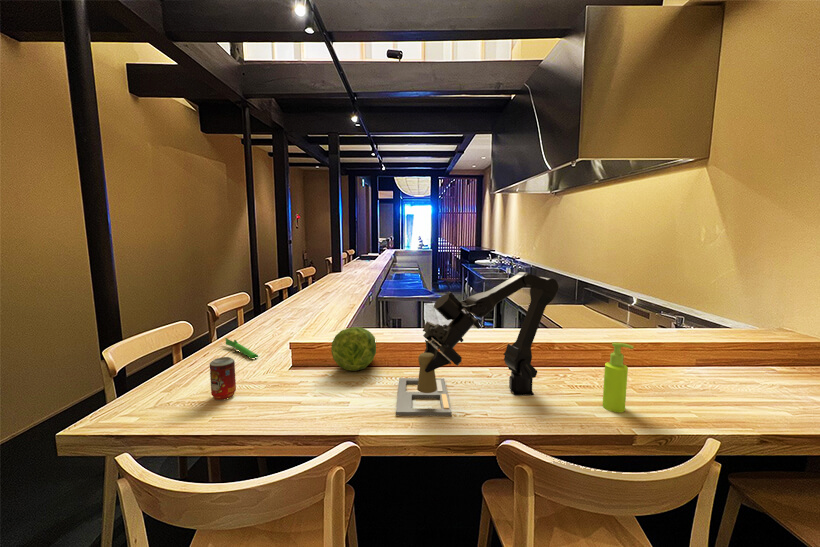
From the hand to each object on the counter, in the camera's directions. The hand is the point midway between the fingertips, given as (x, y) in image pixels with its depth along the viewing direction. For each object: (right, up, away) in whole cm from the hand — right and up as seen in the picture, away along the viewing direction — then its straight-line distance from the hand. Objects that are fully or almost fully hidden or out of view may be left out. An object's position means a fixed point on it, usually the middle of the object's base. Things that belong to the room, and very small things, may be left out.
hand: (422, 368), depth 105 cm
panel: (0, -11, +7) cm, 13 cm away
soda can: (-64, -11, +7) cm, 65 cm away
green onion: (-80, -7, +51) cm, 95 cm away
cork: (+1, -7, +1) cm, 7 cm away
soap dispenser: (+58, -12, 0) cm, 59 cm away
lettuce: (-24, -8, +36) cm, 44 cm away
